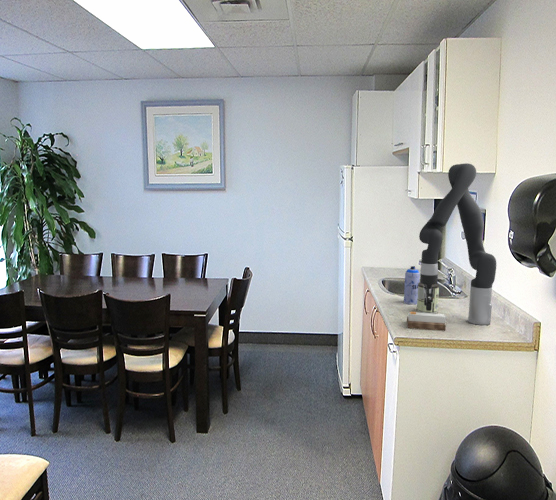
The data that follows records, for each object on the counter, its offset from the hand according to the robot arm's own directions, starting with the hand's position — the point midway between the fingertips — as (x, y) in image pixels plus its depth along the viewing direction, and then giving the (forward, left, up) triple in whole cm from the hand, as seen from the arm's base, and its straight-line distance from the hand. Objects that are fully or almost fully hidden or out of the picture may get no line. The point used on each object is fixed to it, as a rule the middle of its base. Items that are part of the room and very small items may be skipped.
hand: (427, 307), depth 218 cm
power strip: (0, 0, -8) cm, 8 cm away
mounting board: (0, 0, -9) cm, 9 cm away
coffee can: (-3, -26, -9) cm, 28 cm away
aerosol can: (+4, -41, -9) cm, 42 cm away
